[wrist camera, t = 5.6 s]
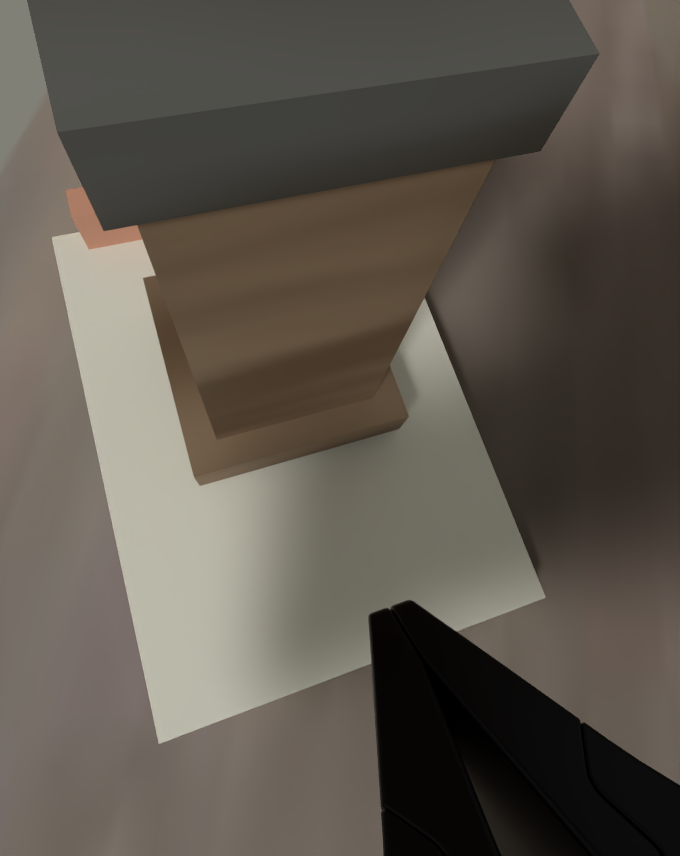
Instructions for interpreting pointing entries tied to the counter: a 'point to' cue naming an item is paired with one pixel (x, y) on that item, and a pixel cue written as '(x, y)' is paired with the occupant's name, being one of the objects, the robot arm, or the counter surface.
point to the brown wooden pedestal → (296, 184)
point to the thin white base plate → (277, 512)
